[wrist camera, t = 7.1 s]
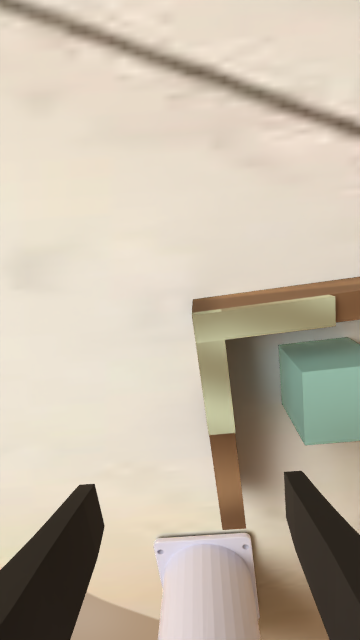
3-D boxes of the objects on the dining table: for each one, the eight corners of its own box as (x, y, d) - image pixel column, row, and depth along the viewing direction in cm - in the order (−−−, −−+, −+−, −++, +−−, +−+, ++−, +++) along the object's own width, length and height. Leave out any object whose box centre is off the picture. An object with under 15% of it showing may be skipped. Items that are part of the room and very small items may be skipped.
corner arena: (407, 465, 21) (464, 524, 17) (217, 480, 22) (223, 539, 18) (416, 268, 18) (491, 275, 13) (192, 299, 19) (192, 315, 14)
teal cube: (346, 336, 19) (391, 363, 15) (346, 397, 20) (388, 438, 16) (278, 344, 19) (302, 372, 15) (281, 403, 20) (304, 445, 16)
